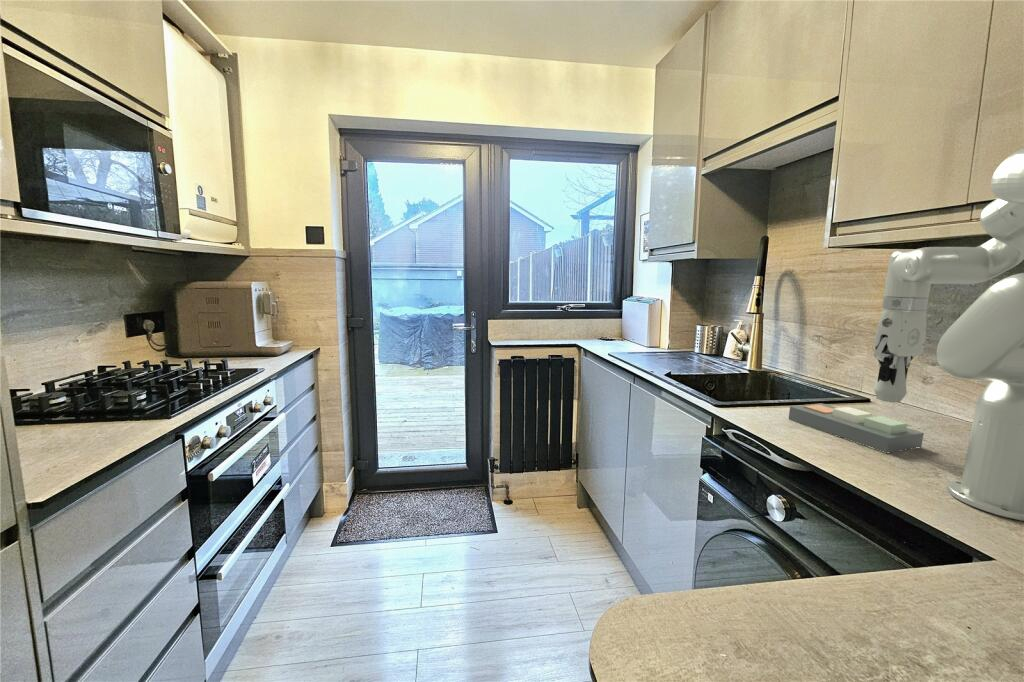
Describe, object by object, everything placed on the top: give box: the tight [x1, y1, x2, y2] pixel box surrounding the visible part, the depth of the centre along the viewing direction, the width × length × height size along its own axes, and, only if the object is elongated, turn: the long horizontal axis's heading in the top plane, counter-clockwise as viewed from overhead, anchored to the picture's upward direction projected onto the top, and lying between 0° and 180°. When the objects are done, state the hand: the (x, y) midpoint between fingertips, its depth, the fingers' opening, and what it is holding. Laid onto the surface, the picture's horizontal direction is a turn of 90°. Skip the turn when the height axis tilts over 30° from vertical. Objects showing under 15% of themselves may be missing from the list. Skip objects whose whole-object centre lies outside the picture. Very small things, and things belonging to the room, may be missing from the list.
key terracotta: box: [804, 405, 833, 414], centre depth 116 cm, size 6×6×4 cm
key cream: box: [832, 406, 873, 424], centre depth 109 cm, size 6×6×4 cm
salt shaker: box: [873, 351, 908, 404], centre depth 100 cm, size 6×6×13 cm
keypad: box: [788, 402, 925, 454], centre depth 109 cm, size 24×12×4 cm, turn 18°
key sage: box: [864, 415, 908, 435], centre depth 101 cm, size 6×6×4 cm
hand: (891, 382), depth 100 cm, fingers closed on salt shaker, 3 cm apart
